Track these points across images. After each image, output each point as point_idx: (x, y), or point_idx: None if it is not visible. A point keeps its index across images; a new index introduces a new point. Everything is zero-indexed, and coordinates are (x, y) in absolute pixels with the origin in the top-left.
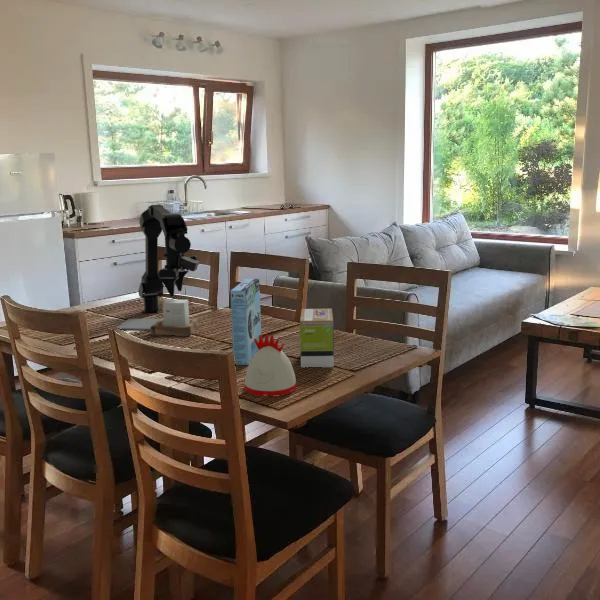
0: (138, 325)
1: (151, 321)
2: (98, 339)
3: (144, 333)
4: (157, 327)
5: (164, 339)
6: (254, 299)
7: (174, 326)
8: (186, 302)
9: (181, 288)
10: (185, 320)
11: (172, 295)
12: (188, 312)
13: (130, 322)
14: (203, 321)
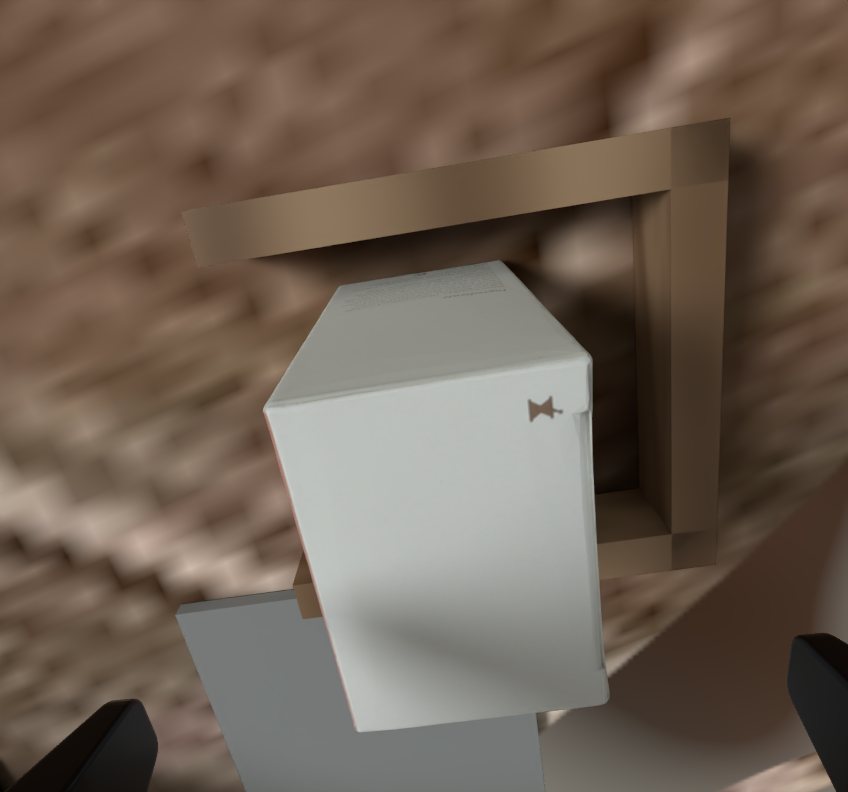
0: None
1: (289, 678)
2: (802, 782)
3: (620, 586)
4: (716, 500)
5: (815, 345)
6: None
7: (681, 340)
8: (406, 372)
9: (97, 748)
10: (510, 282)
11: (838, 659)
12: (336, 324)
13: (367, 789)
14: (45, 238)
